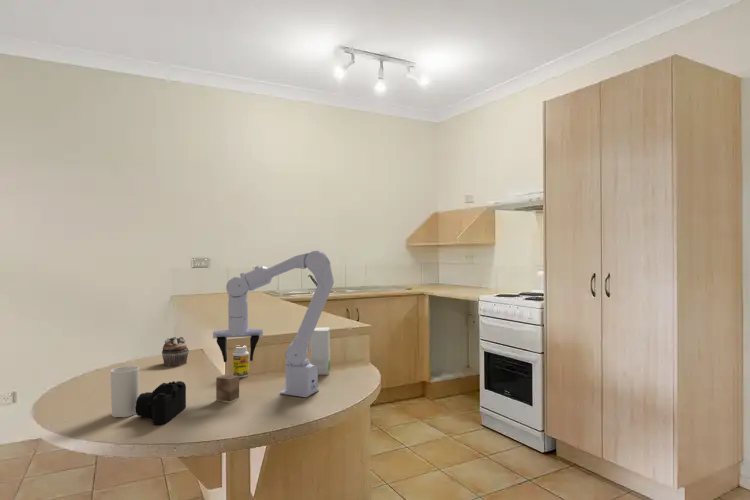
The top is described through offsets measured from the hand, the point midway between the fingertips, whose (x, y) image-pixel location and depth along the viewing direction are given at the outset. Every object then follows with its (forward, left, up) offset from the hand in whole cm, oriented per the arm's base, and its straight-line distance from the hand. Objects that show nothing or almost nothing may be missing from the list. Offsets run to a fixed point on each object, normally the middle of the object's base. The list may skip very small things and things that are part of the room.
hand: (238, 360), depth 145 cm
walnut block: (-1, +6, -10) cm, 12 cm away
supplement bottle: (+12, -16, -10) cm, 22 cm away
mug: (+17, +25, -10) cm, 32 cm away
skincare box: (-11, -31, -10) cm, 34 cm away
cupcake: (+46, -20, -10) cm, 51 cm away
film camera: (+6, +24, -10) cm, 27 cm away
